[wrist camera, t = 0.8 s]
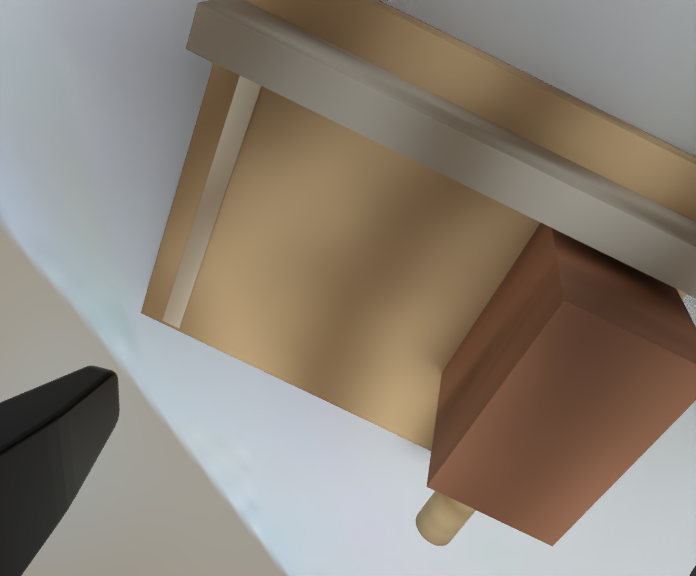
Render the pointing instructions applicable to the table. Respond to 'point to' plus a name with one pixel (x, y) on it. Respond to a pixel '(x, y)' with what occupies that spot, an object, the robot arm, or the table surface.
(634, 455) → the brown block with peg
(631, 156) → the board
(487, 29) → the table surface
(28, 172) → the table surface
